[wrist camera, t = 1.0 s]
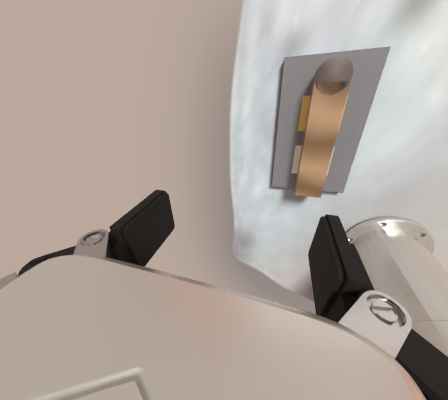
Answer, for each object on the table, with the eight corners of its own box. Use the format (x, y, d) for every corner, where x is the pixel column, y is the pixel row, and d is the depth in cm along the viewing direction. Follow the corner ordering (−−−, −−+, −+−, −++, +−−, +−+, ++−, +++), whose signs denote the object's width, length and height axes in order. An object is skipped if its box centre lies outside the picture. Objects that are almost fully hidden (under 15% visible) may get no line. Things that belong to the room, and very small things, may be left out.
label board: (341, 189, 30) (344, 196, 28) (272, 183, 33) (271, 189, 31) (385, 48, 21) (395, 44, 19) (284, 58, 24) (284, 55, 22)
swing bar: (318, 191, 28) (320, 197, 27) (294, 189, 29) (294, 195, 28) (352, 56, 20) (358, 53, 18) (316, 59, 21) (319, 57, 19)
